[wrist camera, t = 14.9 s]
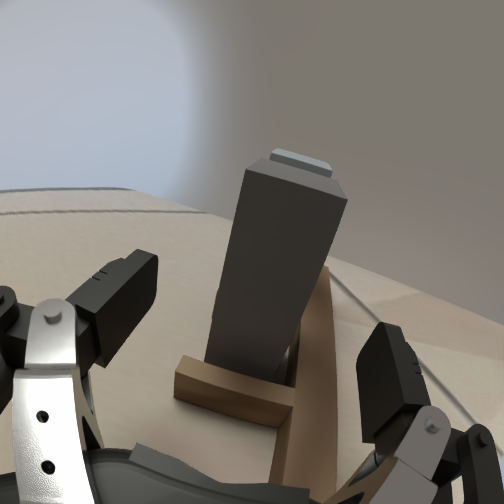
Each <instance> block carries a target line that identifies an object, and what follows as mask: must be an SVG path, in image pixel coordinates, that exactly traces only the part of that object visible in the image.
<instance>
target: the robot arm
mask: <svg viewBox="0 0 504 504" xmlns="http://www.w3.org/2000/svg"><path fill="white" fill-rule="evenodd" d="M157 274H158V256H157V255H155V254H152V253H149V252H146V251H143V250H140V249H137V250H135V251H134V252H133V253H131V254H130V255H129V256H128V257H127V258H125V259H123V258H119V259H117V260H114V261H111V262H109V263H107V264H106V265H105V266H104V267H103V268H101V269H100V270H99V272H97V273H95V274H94V275H93V276H92V278H89V279H88V280H87V281H86V282H85V283H84V284H82V285H81V286H80V287H79V288H78V289H77V290H76V291H74V292H73V293H72V294H71V295H70V296H69V297H68V298H67V299H65V300H63V299H55V298H54V299H48V300H45V301H43V302H41V303H39V304H38V305H37V306H36V307H33V306H29V305H24V304H20V303H18V302H17V299H16V295H15V292H14V291H13V289H11V288H10V287H7V286H0V414H1V413H2V411H3V410H4V409H5V407H6V406H7V404H8V403H9V401H10V400H11V398H12V397H13V401H12V433H13V451H14V462H15V471H16V472H12V473H7V474H2V475H0V504H322V503H320V502H317V501H315V500H313V499H311V498H309V496H310V489H308V488H299V487H291V486H284V485H277V484H271V483H258V484H229V483H220V482H218V481H215V480H214V479H212V478H210V477H208V476H206V475H204V474H203V473H201V472H199V471H197V470H195V469H194V468H192V467H190V466H189V465H187V464H185V463H184V462H182V461H180V460H179V459H176V458H174V457H171V456H168V455H166V454H163V453H161V452H158V451H156V450H153V449H151V448H148V447H146V446H144V445H141V444H139V443H136V445H135V447H134V449H133V451H132V450H127V449H118V448H104V444H103V440H102V436H101V433H100V430H99V427H98V423H97V419H96V414H95V408H94V401H93V394H92V387H91V379H90V371H89V369H90V368H91V366H92V365H93V364H94V363H96V364H98V365H99V366H101V367H103V368H106V366H107V365H108V364H109V362H110V361H111V360H112V358H113V357H114V355H115V354H116V353H117V351H118V350H119V349H120V347H121V346H122V345H123V343H124V342H125V341H126V339H127V338H128V337H129V335H130V334H131V333H132V331H133V330H134V329H135V327H136V326H137V325H138V323H139V322H140V321H141V320H142V318H143V317H144V316H145V314H146V313H147V312H148V311H149V309H150V308H151V306H152V305H153V302H154V300H155V297H156V291H157ZM418 365H419V363H418V360H417V357H416V354H415V352H414V351H413V349H412V348H411V346H410V345H409V344H408V342H405V339H404V336H403V333H402V330H401V328H400V327H399V326H396V325H392V324H388V323H384V322H380V323H378V324H377V326H376V327H375V329H374V330H373V332H372V334H371V335H370V337H369V339H368V340H367V342H366V343H365V345H364V346H363V348H362V350H361V351H360V353H359V355H358V358H357V362H356V372H357V381H358V391H359V401H360V413H361V427H362V443H373V444H375V449H374V450H373V451H372V452H371V453H370V454H369V455H368V457H367V458H366V459H365V460H364V462H363V463H362V464H361V466H360V467H359V468H358V469H357V470H356V472H355V473H354V474H353V475H352V476H351V478H350V479H349V480H348V481H347V482H346V483H345V485H344V486H343V487H342V488H341V489H340V490H339V491H338V492H337V493H335V494H334V495H333V496H331V497H330V498H329V499H327V500H326V501H325V502H324V503H323V504H453V498H452V485H451V482H452V481H453V480H455V479H457V478H458V477H460V476H461V475H462V481H463V490H464V503H463V504H504V489H503V483H502V477H501V471H500V466H499V461H498V456H497V452H496V448H495V444H494V440H493V437H492V434H491V433H490V431H489V430H488V429H487V428H486V427H485V426H483V425H481V424H475V425H473V426H471V427H470V428H469V429H468V430H467V431H466V432H462V431H459V430H456V429H453V428H451V425H450V421H449V419H448V417H447V416H446V414H445V413H444V412H443V411H442V410H440V409H439V408H437V407H434V406H431V402H430V399H429V395H428V392H427V388H426V385H425V381H424V378H423V375H421V373H422V372H421V369H420V366H418Z"/></svg>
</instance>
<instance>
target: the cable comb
mask: <svg viewBox="0 0 504 504" xmlns="http://www.w3.org/2000/svg"><path fill="white" fill-rule="evenodd" d="M218 290H219V289H218ZM218 290H217V294H216V299H217V295H218ZM216 299H215V304H216ZM215 304H214V309H215ZM214 309H213V314H214ZM213 314H212V318H213ZM174 397H176V398H178V399H181V400H184V401H186V402H189V403H192V404H195V405H198V406H201V407H204V408H207V409H210V410H213V411H216V412H219V413H222V414H226V415H229V416H232V417H236V418H239V419H243V420H247V421H251V422H254V423H258V424H262V425H267V426H271V427H275V428H278V432H277V438H276V444H275V449H274V455H273V461H272V466H271V471H270V477H269V482H268V483H271V484H277V485H284V486H291V487H299V488H308V489H310V496H309V498H311V499H313V500H315V501H317V502H320V503H322V504H323V503H324V502H325V501H326V500H327V499H329V498H330V497H331V496H333V495H334V494H335V492H336V474H337V438H338V411H337V373H336V352H335V336H334V322H333V310H332V299H331V288H330V279H329V270H328V267H326V266H323V267H322V270H321V272H320V275H319V277H318V280H317V282H316V285H315V287H314V289H313V292H312V294H311V297H310V299H309V301H308V304H307V306H306V308H305V310H304V313H303V315H302V317H301V320H300V322H299V324H298V326H297V329H296V331H295V333H294V335H293V337H292V340H291V342H290V348H289V356H288V364H287V371H286V379H285V386H283V385H279V384H275V383H272V382H268V381H264V380H260V379H257V378H253V377H250V376H246V375H243V374H239V373H236V372H233V371H230V370H226V369H223V368H220V367H217V366H214V365H211V364H208V363H205V362H202V361H199V360H196V359H194V358H191V357H188V356H185V355H183V357H182V359H181V361H180V363H179V365H178V367H177V368H176V370H175V380H174Z"/></svg>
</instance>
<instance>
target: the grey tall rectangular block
mask: <svg viewBox="0 0 504 504" xmlns="http://www.w3.org/2000/svg"><path fill="white" fill-rule="evenodd" d="M347 200H348V199H347V197H346V196H345V194H344V192H343V190H342V189H341V187H340V185H339V183H338V182H337V180H334V179H331V178H328V177H325V176H322V175H319V174H316V173H312V172H309V171H306V170H303V169H299V168H296V167H292V166H289V165H285V164H282V163H278V162H275V161H271V160H267V159H264V158H260V159H259V160H258V161H256V162H255V163H253V164H252V165H251V166H249V167H248V168H246V171H245V174H244V179H243V183H242V187H241V191H240V195H239V200H238V204H237V208H236V213H235V217H234V221H233V226H232V230H231V235H230V239H229V244H228V248H227V253H226V257H225V262H224V266H223V271H222V276H221V280H220V285H219V290H218V295H217V299H216V304H215V309H214V314H213V319H212V324H211V329H210V334H209V339H208V344H207V349H206V354H205V359H204V362H205V363H208V364H211V365H214V366H217V367H220V368H223V369H226V370H230V371H233V372H236V373H239V374H243V375H246V376H250V377H253V378H257V379H260V380H264V381H268V382H271V381H272V379H273V377H274V375H275V373H276V371H277V369H278V367H279V365H280V363H281V361H282V359H283V357H284V355H285V352H286V350H287V348H288V346H289V344H290V342H291V340H292V337H293V335H294V333H295V331H296V329H297V326H298V324H299V322H300V320H301V317H302V315H303V313H304V310H305V308H306V306H307V304H308V301H309V299H310V297H311V294H312V292H313V289H314V287H315V285H316V282H317V280H318V277H319V275H320V272H321V270H322V267H323V265H324V262H325V260H326V257H327V255H328V252H329V249H330V247H331V244H332V242H333V239H334V236H335V234H336V231H337V228H338V226H339V223H340V220H341V217H342V215H343V212H344V209H345V206H346V203H347Z"/></svg>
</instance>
